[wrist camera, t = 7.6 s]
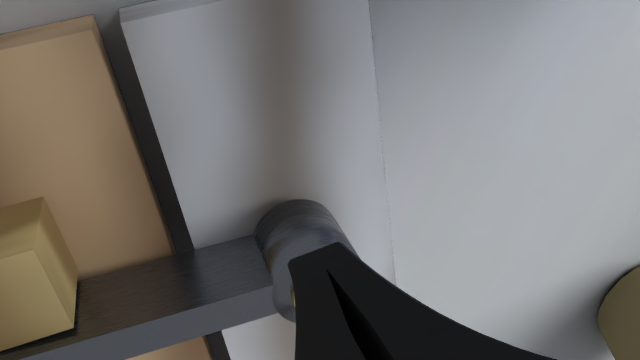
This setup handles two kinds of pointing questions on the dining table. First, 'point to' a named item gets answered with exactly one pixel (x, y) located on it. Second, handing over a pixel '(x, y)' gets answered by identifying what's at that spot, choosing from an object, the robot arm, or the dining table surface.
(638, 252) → the dining table surface
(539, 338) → the dining table surface
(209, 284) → the lock bar
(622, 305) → the squeeze bottle
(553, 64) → the dining table surface
